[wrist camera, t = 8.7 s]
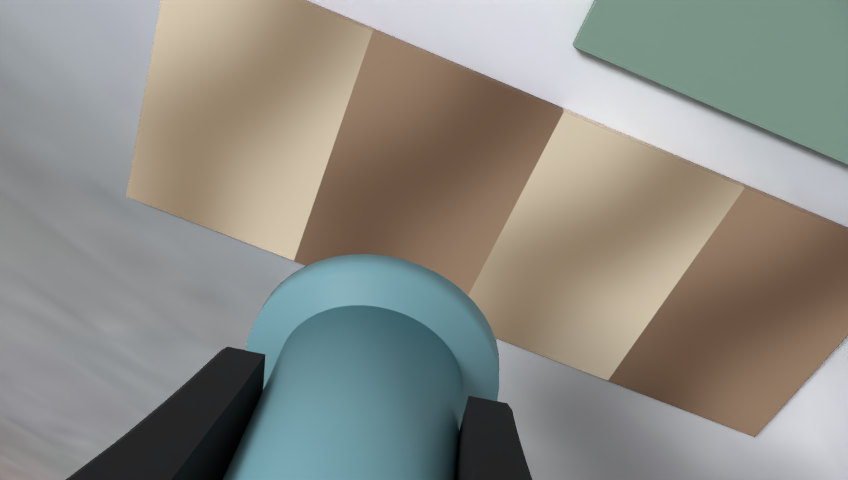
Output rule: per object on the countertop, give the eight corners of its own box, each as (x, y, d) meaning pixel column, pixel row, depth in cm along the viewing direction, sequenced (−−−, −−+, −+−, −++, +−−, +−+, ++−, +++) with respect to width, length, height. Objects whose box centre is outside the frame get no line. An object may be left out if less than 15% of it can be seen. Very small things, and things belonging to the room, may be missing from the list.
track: (910, 253, 18) (916, 260, 18) (751, 429, 22) (754, 437, 21) (175, -55, 16) (170, -53, 16) (131, 191, 20) (125, 196, 19)
